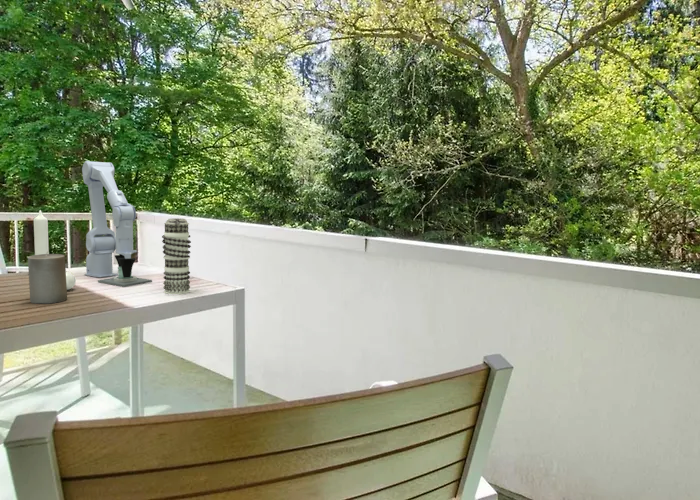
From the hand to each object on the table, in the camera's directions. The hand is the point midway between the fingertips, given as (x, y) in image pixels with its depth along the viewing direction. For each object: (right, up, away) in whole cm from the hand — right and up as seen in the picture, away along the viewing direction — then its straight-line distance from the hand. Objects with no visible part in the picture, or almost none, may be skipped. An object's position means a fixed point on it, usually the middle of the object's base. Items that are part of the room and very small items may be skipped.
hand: (125, 275), depth 182 cm
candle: (-35, -1, +8) cm, 36 cm away
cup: (0, -2, 0) cm, 2 cm away
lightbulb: (-11, -4, -24) cm, 27 cm away
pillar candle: (-9, -6, -31) cm, 33 cm away
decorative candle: (+23, -5, -13) cm, 27 cm away
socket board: (0, -3, 0) cm, 2 cm away
